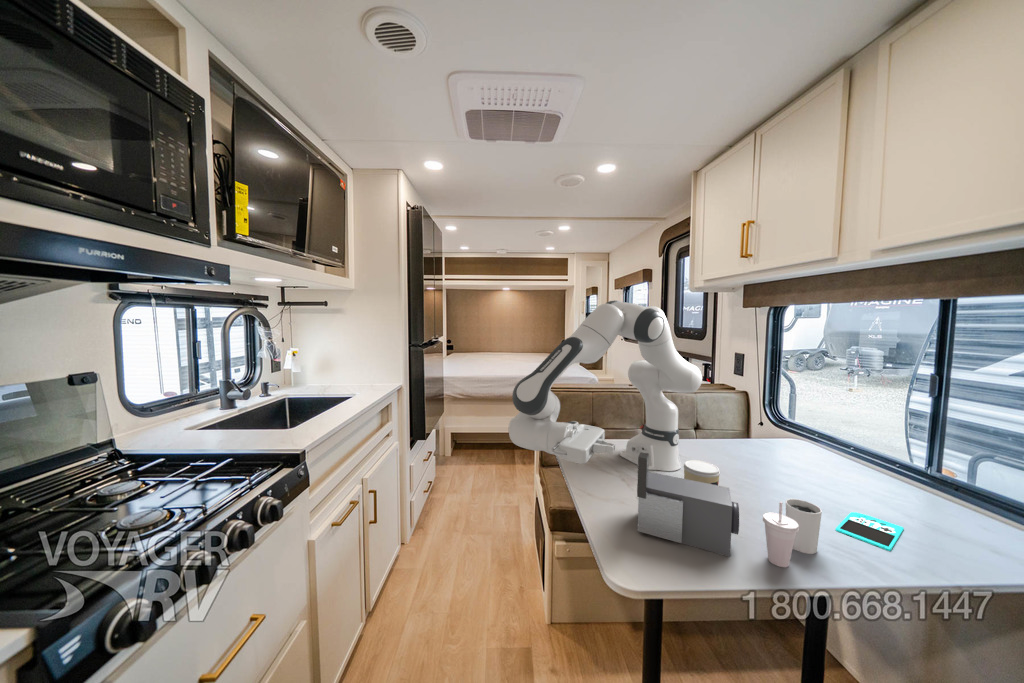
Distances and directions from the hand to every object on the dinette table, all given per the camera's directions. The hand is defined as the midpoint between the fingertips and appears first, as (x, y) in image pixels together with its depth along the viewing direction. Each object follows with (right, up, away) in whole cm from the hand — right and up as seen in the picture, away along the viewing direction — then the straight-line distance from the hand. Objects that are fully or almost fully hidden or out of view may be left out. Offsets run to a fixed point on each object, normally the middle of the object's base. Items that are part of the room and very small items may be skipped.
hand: (614, 448), depth 88 cm
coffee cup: (+29, -21, +13) cm, 38 cm away
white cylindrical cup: (+44, -22, -5) cm, 49 cm away
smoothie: (+34, -22, -10) cm, 42 cm away
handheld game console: (+67, -22, +1) cm, 71 cm away
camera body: (+18, -22, 0) cm, 28 cm away
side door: (+10, -21, -4) cm, 23 cm away
